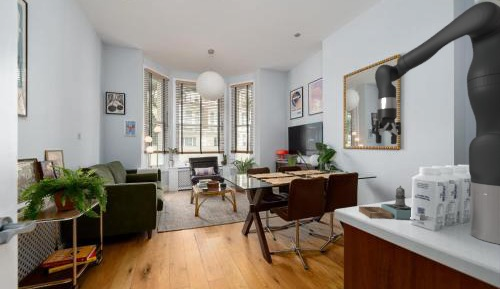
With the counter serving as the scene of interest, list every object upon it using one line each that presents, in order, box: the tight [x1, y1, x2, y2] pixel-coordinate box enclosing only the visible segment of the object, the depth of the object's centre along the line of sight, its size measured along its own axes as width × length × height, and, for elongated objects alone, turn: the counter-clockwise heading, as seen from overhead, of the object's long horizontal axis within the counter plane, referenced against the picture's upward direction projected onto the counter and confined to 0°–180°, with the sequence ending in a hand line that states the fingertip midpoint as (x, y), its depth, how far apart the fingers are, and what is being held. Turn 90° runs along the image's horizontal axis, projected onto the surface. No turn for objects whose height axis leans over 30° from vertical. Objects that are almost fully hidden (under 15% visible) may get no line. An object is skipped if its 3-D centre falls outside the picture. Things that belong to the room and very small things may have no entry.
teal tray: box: [380, 203, 412, 221], centre depth 86 cm, size 10×10×4 cm
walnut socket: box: [358, 205, 394, 220], centre depth 86 cm, size 9×9×2 cm
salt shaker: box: [391, 185, 410, 210], centre depth 86 cm, size 6×6×12 cm
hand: (386, 143), depth 95 cm, fingers open, 8 cm apart
